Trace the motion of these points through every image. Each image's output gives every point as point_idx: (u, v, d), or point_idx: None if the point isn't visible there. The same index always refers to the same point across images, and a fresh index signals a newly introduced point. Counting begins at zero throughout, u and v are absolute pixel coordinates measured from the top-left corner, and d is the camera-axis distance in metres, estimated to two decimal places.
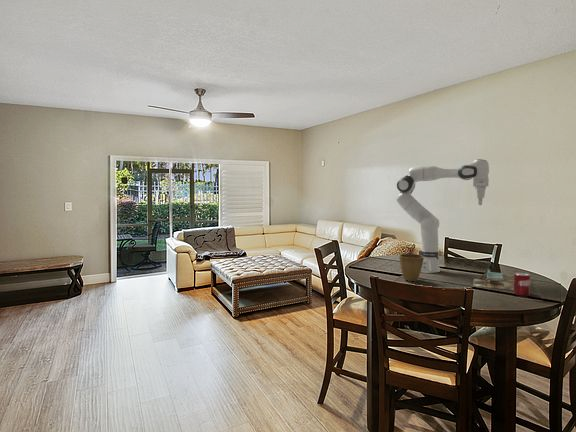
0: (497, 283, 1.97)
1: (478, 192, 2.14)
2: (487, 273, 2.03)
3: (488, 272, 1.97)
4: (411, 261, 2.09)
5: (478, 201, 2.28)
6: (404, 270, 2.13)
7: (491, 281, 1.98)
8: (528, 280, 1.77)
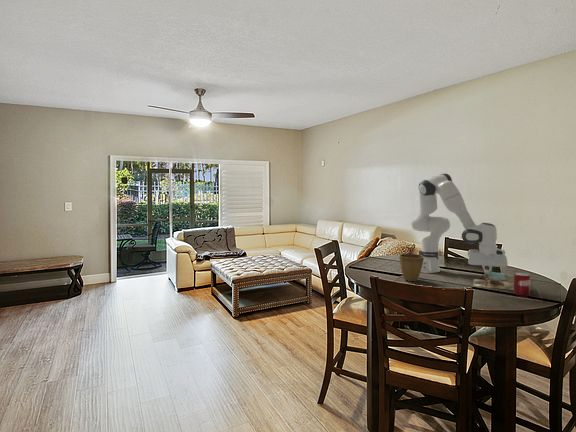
0: (497, 283, 1.97)
1: None
2: None
3: (490, 272, 1.97)
4: (411, 261, 2.09)
5: (484, 269, 2.00)
6: (404, 270, 2.13)
7: (491, 281, 1.98)
8: (528, 280, 1.77)
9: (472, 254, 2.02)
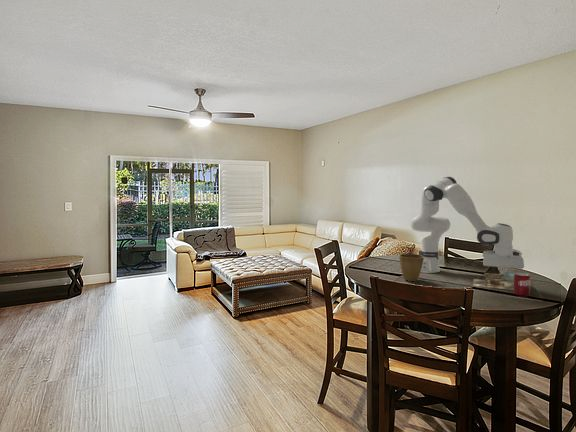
0: (497, 283, 1.97)
1: (523, 262, 1.91)
2: (505, 275, 1.99)
3: (506, 274, 1.93)
4: (411, 261, 2.09)
5: (500, 271, 1.97)
6: (404, 270, 2.13)
7: (491, 281, 1.98)
8: (528, 280, 1.77)
9: (487, 255, 1.99)
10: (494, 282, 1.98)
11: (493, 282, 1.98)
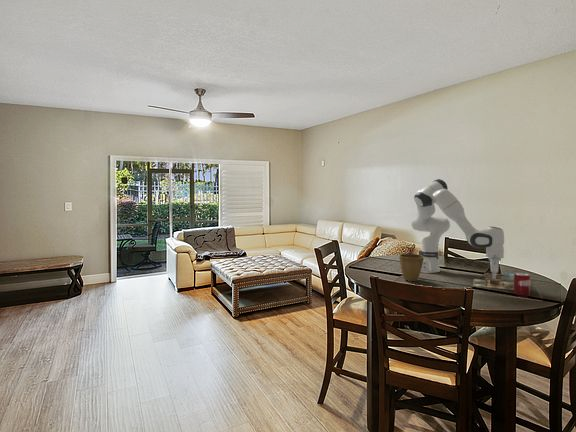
0: (497, 283, 1.96)
1: None
2: (505, 275, 1.98)
3: (507, 274, 1.93)
4: (411, 261, 2.09)
5: None
6: (404, 270, 2.13)
7: (491, 281, 1.98)
8: (528, 280, 1.77)
9: (498, 261, 1.90)
10: (494, 282, 1.97)
11: (493, 282, 1.97)
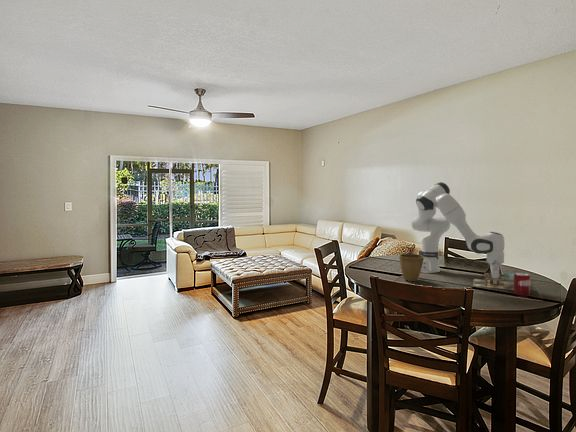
0: (497, 283, 1.97)
1: None
2: (505, 275, 1.98)
3: (507, 274, 1.93)
4: (411, 261, 2.09)
5: None
6: (404, 270, 2.13)
7: (491, 281, 1.98)
8: (528, 280, 1.77)
9: None
10: None
11: None
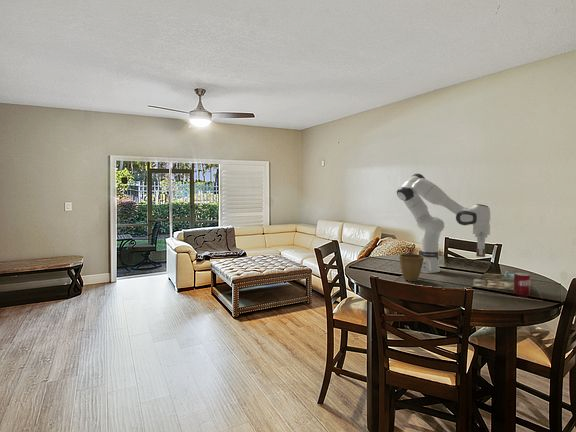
0: (483, 254, 2.00)
1: None
2: (505, 275, 1.98)
3: (507, 274, 1.93)
4: (411, 261, 2.09)
5: (482, 251, 1.99)
6: (404, 270, 2.13)
7: (477, 253, 2.01)
8: (528, 280, 1.77)
9: (484, 238, 1.94)
10: None
11: None
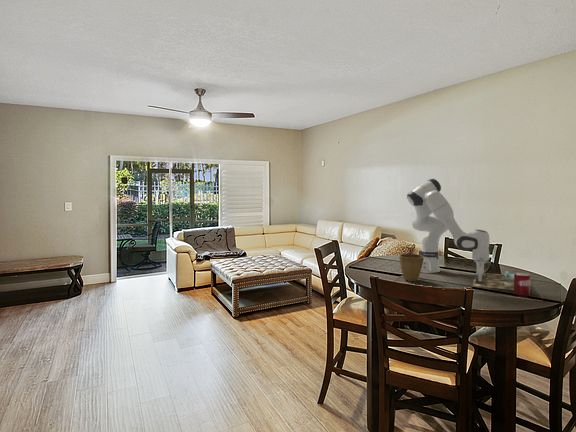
0: (482, 281, 2.01)
1: None
2: (505, 275, 1.98)
3: (507, 274, 1.93)
4: (411, 261, 2.09)
5: (481, 277, 1.98)
6: (404, 270, 2.13)
7: (476, 279, 2.02)
8: (528, 280, 1.77)
9: None
10: None
11: None
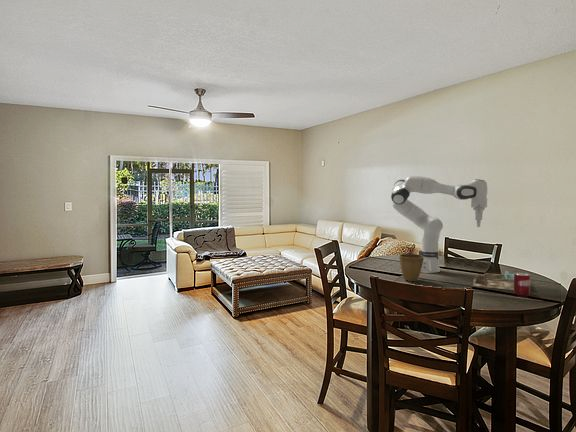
0: (482, 281, 2.01)
1: None
2: (505, 275, 1.98)
3: (507, 274, 1.93)
4: (411, 261, 2.09)
5: None
6: (404, 270, 2.13)
7: (476, 279, 2.02)
8: (528, 280, 1.77)
9: (482, 209, 2.07)
10: (479, 280, 2.01)
11: (478, 280, 2.02)
